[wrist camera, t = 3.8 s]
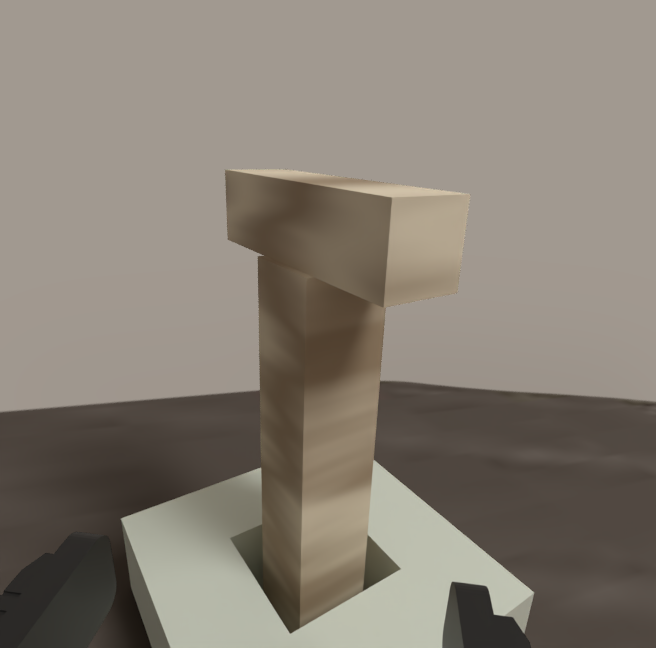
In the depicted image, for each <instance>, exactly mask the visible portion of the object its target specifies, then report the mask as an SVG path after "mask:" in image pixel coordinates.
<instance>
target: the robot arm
mask: <svg viewBox="0 0 656 648" xmlns="http://www.w3.org/2000/svg"><path fill="white" fill-rule="evenodd" d="M115 593H116V576H115V570H114V564H113V557H112V551H111V545H110V540H109V538H108V537H107V536H105V535H98V534H90V533H82V532H74V533H72V534H71V535H69V536H68V537H67V539H66V540H65V541H64V542H63V543H62V545H61V546H60V547H59V548H58V550H57V551H56V552H55V553H54V554H50V553H45V554H44V555H42V556H41V557H39V558H38V559H37V560H35V561H34V562H32V563H31V564H30V565H28V566H27V567H25V568H24V569H22V570H21V572H20V573H19V574H18V575H17V576H16V577H15V578H14V580H13V581H12V582H11V583H10V584H9V585H8V587H7V588H6V589H5V590H4V593H3V595H0V648H87V647H88V646H89V644H90V642H91V641H92V639H93V637H94V636H95V634H96V632H97V631H98V629H99V627H100V626H101V624H102V622H103V621H104V619H105V618H106V616H107V614H108V612H109V611H110V608H111V606H112V604H113V601H114V597H115ZM442 648H531V646H530V642H529V640H528V639H527V637H526V636H525V634H524V633H523V631H522V630H521V628H520V627H519V625H518V624H517V622H516V621H515V619H514V618H513V617H508V616H501V615H494V612H493V608H492V603H491V598H490V594H489V590H488V588H487V586H484V585H476V584H468V583H461V582H453V581H452V583H451V586H450V591H449V597H448V603H447V609H446V615H445V621H444V627H443V638H442Z"/></svg>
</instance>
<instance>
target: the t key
mask: <svg viewBox="0 0 656 648" xmlns="http://www.w3.org/2000/svg"><path fill="white" fill-rule="evenodd" d="M225 176H226V177H225V178H226V203H227V230H228V240H230V241H232V242H235V243H237V244H239V245H242V246H244V247H246V248H248V249H251V250H253V251H255V252H257V253H260V254H262V255H264V256H258V297H259V357H260V358H259V359H260V421H261V482H262V544H263V592H264V593H265V595H266V597H267V598H268V600H269V601H270V603H271V604H272V606H273V608H274V609H275V611H276V612H277V614H278V616H279V617H280V619H281V620H282V622H283V624H284V625H285V627H286V628H287V630H288V632H289V633H290V634H291V633H293V632H294V631H296V630H298V629H300V628H301V627H303V626H305V625H306V624H308V623H310V622H311V621H313V620H315V619H317V618H318V617H320V616H322V615H323V614H325V613H327V612H329V611H330V610H332V609H334V608H335V607H337V606H339V605H340V604H342V603H344V602H346V601H347V600H349V599H351V598H352V597H354V596H356V595H358V594H359V593H361V592H363V584H364V572H365V560H366V547H367V535H368V522H369V510H370V497H371V485H372V472H373V460H374V447H375V435H376V422H377V410H378V397H379V385H380V372H381V360H382V347H383V335H384V322H385V309H386V307H390V306H395V305H400V304H405V303H410V302H415V301H420V300H425V299H430V298H435V297H440V296H445V295H450V294H455V293H457V291H458V284H459V276H460V269H461V261H462V253H463V246H464V239H465V231H466V224H467V215H468V208H469V201H470V194H465V193H457V192H449V191H443V190H435V189H428V188H420V187H413V186H405V185H398V184H391V183H384V182H376V181H368V180H360V179H354V178H346V177H339V176H332V175H324V174H316V173H309V172H302V171H294V170H287V169H283V170H281V169H279V170H277V169H268V170H267V169H266V170H265V169H258V170H257V169H256V170H254V169H253V170H252V169H251V170H250V169H249V170H248V169H247V170H225Z"/></svg>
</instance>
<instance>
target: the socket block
mask: <svg viewBox="0 0 656 648" xmlns="http://www.w3.org/2000/svg"><path fill="white" fill-rule="evenodd" d="M121 521H122V528H123V535H124V542H125V549H126V556H127V563H128V570H129V577H130V584H131V589H132V592H133V595H134V597H135V600H136V603H137V606H138V609H139V612H140V615H141V618H142V621H143V623H144V626H145V629H146V632H147V635H148V638H149V641H150V644H151V647H152V648H442V638H443V627H444V621H445V615H446V609H447V603H448V597H449V591H450V586H451V583H452V581H453V582H461V583H468V584H476V585H484V586H487V588H488V590H489V594H490V598H491V603H492V608H493V612H494V615H501V616H508V617H513V618H514V619H515V621H516V622H517V624H518V625H519V627H520V628H521V630H522V631H523V633H524V632H525V628H526V624H527V620H528V616H529V612H530V608H531V604H532V600H533V596H534V592H533V591H531V590H530V589H529V588H528V587H527V586H525V585H524V584H523V583H522V582H520V581H519V580H518V579H517V578H516V577H514V576H513V575H512V574H511V573H510V572H508V571H507V570H506V569H505V568H504V567H502V566H501V565H500V564H499V563H498V562H496V561H495V560H494V559H493V558H491V557H490V556H489V555H488V554H487V553H485V552H484V551H483V550H482V549H481V548H479V547H478V546H477V545H476V544H475V543H473V542H472V541H471V540H470V539H469V538H467V537H466V536H465V535H464V534H463V533H461V532H460V531H459V530H458V529H456V528H455V527H454V526H453V525H452V524H450V523H449V522H448V521H447V520H446V519H444V518H443V517H442V516H441V515H440V514H438V513H437V512H436V511H435V510H434V509H432V508H431V507H430V506H429V505H428V504H426V503H425V502H424V501H423V500H421V499H420V498H419V497H418V496H417V495H415V494H414V493H413V492H412V491H411V490H409V489H408V488H407V487H406V486H405V485H403V484H402V483H401V482H400V481H399V480H397V479H396V478H395V477H394V476H392V475H391V474H390V473H389V472H388V471H386V470H385V469H384V468H383V467H382V466H380V465H379V464H378V463H377V462H376V461H374V460H373V472H372V485H371V497H370V510H369V522H368V535H367V547H366V560H365V572H364V584H363V592H361V593H359V594H358V595H356V596H354V597H352V598H351V599H349V600H347V601H346V602H344V603H342V604H340V605H339V606H337V607H335V608H334V609H332V610H330V611H329V612H327V613H325V614H323V615H322V616H320V617H318V618H317V619H315V620H313V621H311V622H310V623H308V624H306V625H305V626H303V627H301V628H300V629H298V630H296V631H294V632H293V633H291V634H290V633H289V632H288V630H287V628H286V627H285V625H284V624H283V622H282V620H281V619H280V617H279V616H278V614H277V612H276V611H275V609H274V608H273V606H272V604H271V603H270V601H269V600H268V598H267V597H266V595H265V593H264V592H263V544H262V482H261V468H259V469H256V470H253V471H250V472H248V473H245V474H242V475H239V476H237V477H234V478H231V479H228V480H226V481H223V482H220V483H217V484H215V485H212V486H209V487H206V488H204V489H201V490H198V491H195V492H193V493H190V494H187V495H184V496H182V497H179V498H176V499H173V500H171V501H168V502H165V503H162V504H160V505H157V506H154V507H151V508H149V509H146V510H143V511H140V512H138V513H135V514H132V515H129V516H127V517H124V518H121Z"/></svg>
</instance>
